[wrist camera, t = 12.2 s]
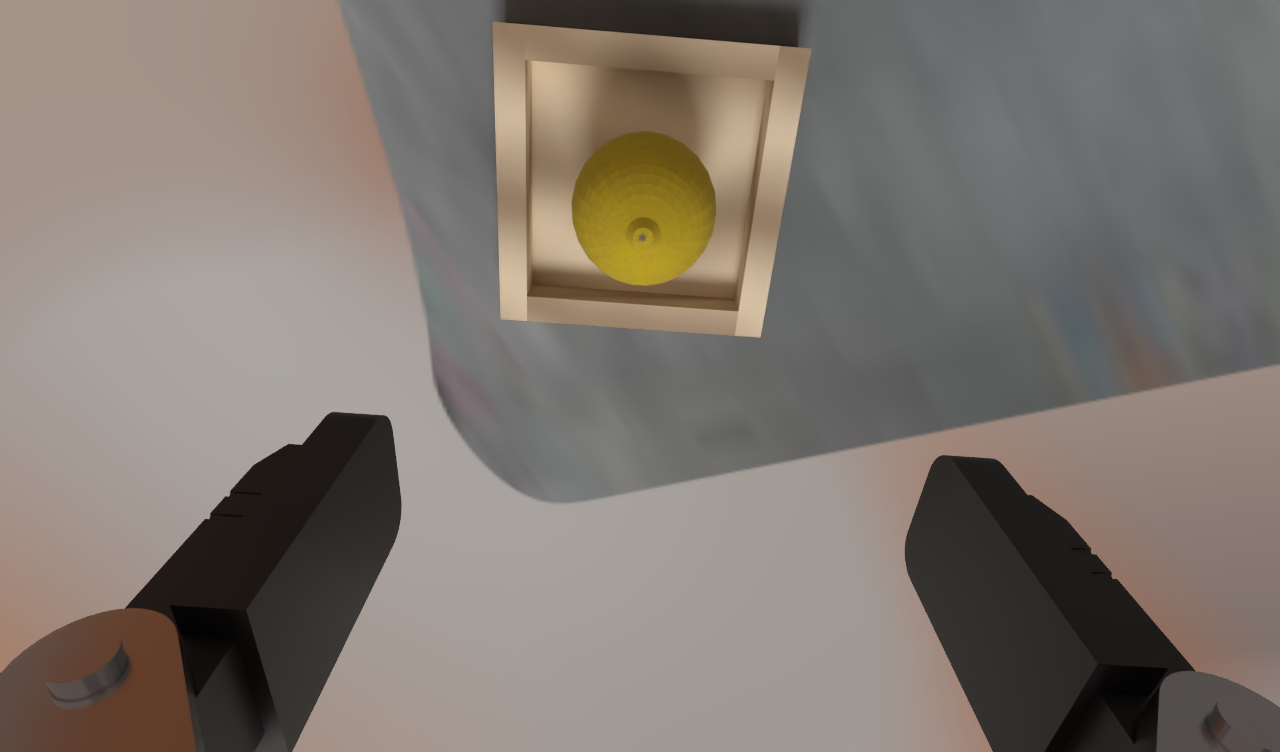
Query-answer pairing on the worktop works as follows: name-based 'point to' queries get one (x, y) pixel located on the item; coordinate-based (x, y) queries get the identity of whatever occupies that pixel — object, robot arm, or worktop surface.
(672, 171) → the lemon
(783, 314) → the worktop surface
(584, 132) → the tray
